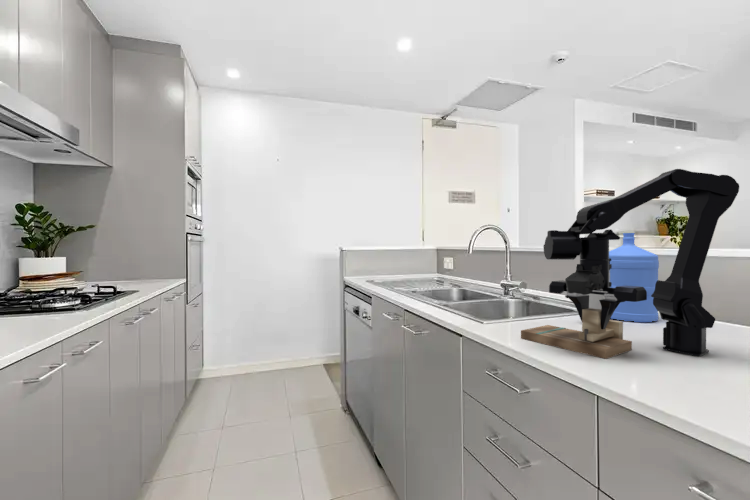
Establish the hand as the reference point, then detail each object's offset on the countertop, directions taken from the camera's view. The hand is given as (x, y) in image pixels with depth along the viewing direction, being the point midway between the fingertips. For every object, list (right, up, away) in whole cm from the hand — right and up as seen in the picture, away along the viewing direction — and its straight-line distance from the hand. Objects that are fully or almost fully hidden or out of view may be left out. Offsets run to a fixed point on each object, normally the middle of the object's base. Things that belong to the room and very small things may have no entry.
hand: (593, 327), depth 82 cm
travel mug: (+16, -5, +25) cm, 30 cm away
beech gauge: (+2, -4, +1) cm, 5 cm away
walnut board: (-3, -5, +4) cm, 7 cm away
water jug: (+33, -5, +35) cm, 49 cm away
